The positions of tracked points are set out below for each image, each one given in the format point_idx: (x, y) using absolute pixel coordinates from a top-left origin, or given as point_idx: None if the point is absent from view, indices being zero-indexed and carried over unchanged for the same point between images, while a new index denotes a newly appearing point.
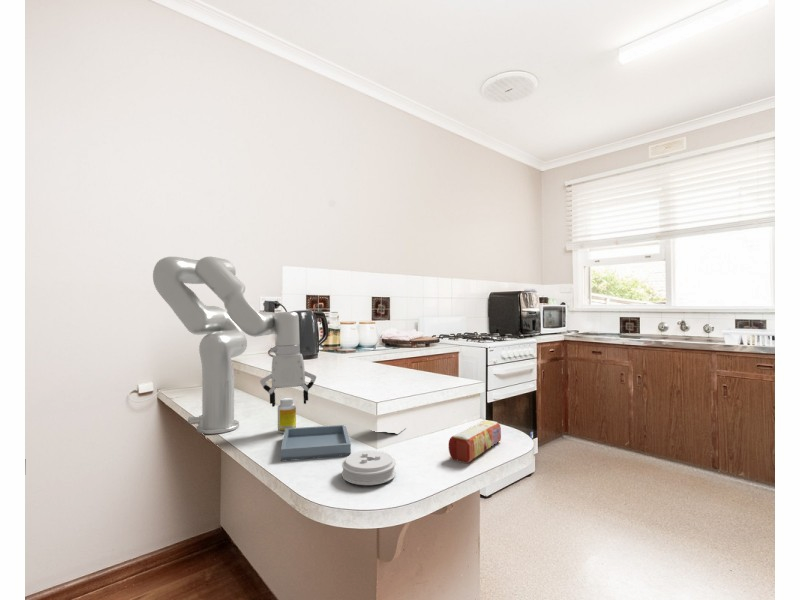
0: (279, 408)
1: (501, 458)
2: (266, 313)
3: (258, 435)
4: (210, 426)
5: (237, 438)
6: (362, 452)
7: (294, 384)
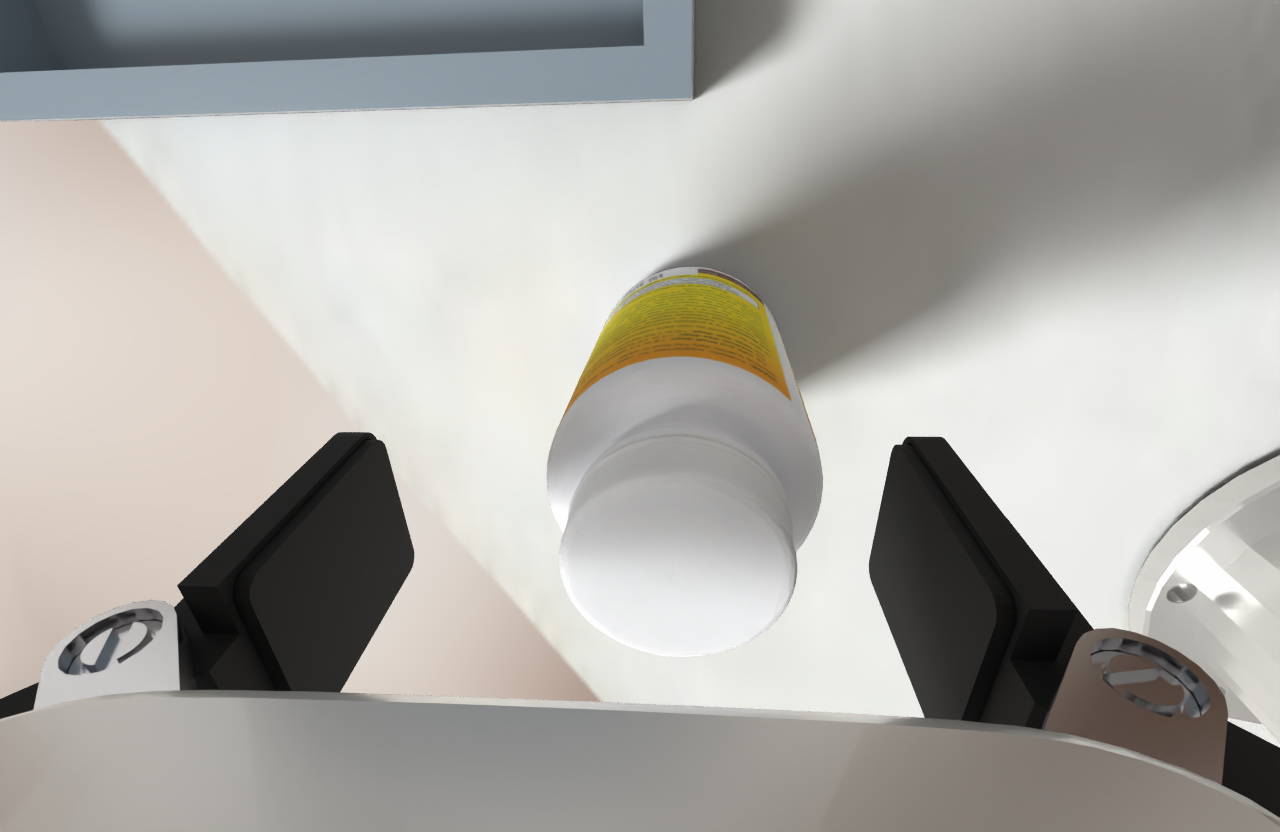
0: (797, 419)
1: None
2: None
3: (981, 281)
4: None
5: (1228, 221)
6: None
7: (260, 757)
